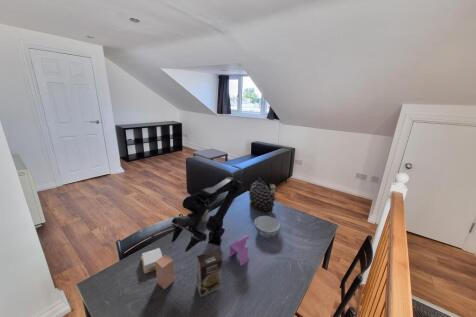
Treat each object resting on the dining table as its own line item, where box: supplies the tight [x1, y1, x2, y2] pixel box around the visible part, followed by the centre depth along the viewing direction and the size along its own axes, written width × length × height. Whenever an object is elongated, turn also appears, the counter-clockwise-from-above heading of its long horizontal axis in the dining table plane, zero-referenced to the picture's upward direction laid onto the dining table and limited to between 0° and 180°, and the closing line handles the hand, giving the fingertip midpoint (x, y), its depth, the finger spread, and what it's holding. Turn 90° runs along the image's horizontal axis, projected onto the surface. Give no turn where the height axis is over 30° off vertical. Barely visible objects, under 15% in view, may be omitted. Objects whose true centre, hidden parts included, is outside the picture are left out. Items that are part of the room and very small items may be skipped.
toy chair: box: [228, 234, 250, 267], centre depth 102 cm, size 8×9×15 cm
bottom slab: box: [141, 249, 164, 275], centre depth 98 cm, size 9×9×2 cm
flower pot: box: [199, 209, 210, 224], centre depth 130 cm, size 9×9×9 cm
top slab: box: [141, 247, 163, 270], centre depth 96 cm, size 8×8×2 cm
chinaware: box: [254, 215, 281, 239], centre depth 121 cm, size 15×15×8 cm
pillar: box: [155, 254, 175, 290], centre depth 87 cm, size 5×5×12 cm
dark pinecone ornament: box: [248, 176, 276, 216], centre depth 144 cm, size 21×15×25 cm
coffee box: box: [196, 249, 223, 298], centre depth 85 cm, size 9×6×16 cm
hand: (179, 246), depth 91 cm, fingers open, 9 cm apart
